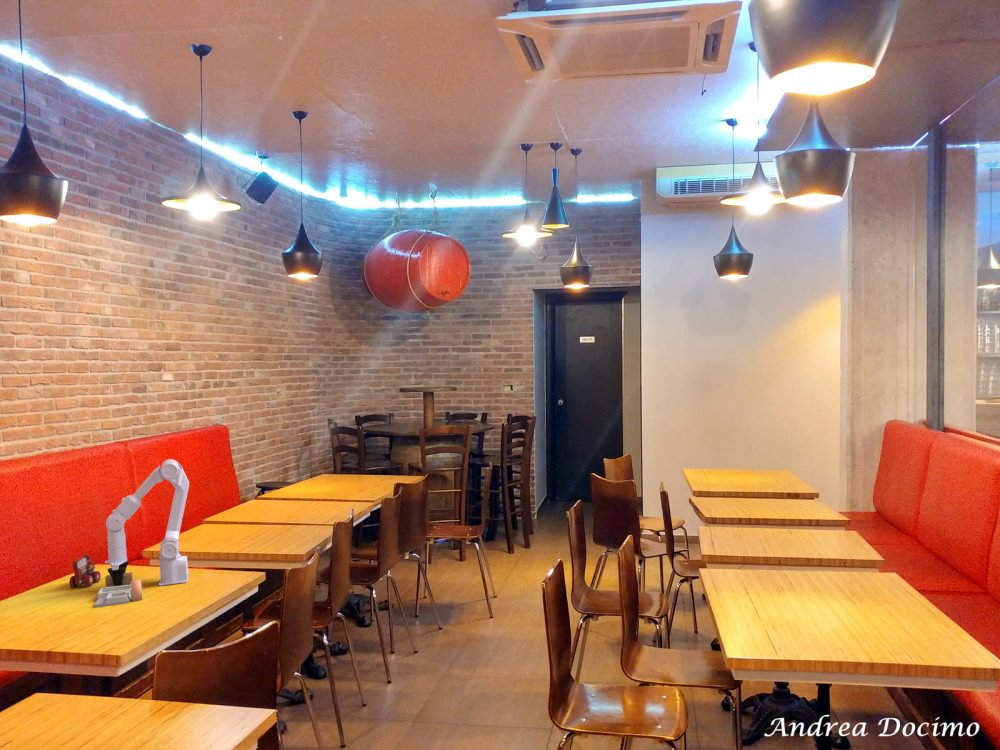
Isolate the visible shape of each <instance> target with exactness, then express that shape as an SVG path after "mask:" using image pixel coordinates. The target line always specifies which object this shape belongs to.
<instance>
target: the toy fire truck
mask: <svg viewBox="0 0 1000 750" xmlns="http://www.w3.org/2000/svg"><path fill="white" fill-rule="evenodd" d="M72 568H73V572H74V575H72V576H70V579H69V582H68V584H69V586H70V588H77V587H78V586H79V585H81V586H82V585H84V586H85V587H89V586H90V587H92V586H93V584H94V583H99V582H100V580H101V572H100V571H99V570H96V567H95V564H94V562H93V559H92V558H90V555H89V554H84V555H83V556H81V557H80V558H77V559H75V560H73V562H72Z"/></svg>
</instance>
